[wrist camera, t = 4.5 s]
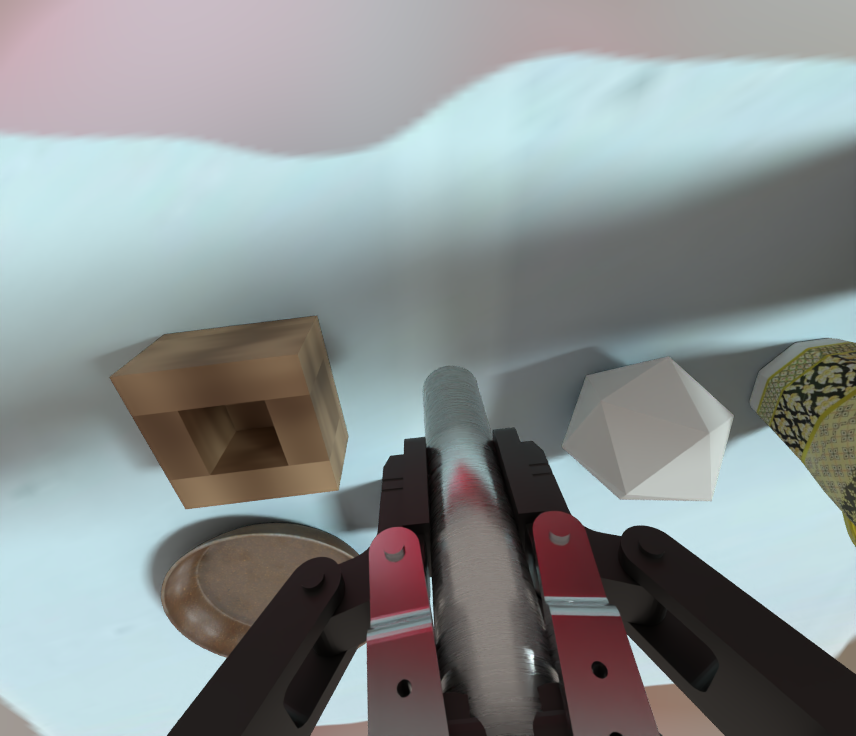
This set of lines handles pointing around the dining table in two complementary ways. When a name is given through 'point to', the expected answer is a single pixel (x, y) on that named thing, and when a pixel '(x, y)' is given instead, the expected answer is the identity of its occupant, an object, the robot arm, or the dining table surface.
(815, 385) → the ceramic cup
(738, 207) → the dining table surface
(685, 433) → the die
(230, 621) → the plant saucer
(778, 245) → the dining table surface
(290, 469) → the bore block
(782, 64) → the dining table surface
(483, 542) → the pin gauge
